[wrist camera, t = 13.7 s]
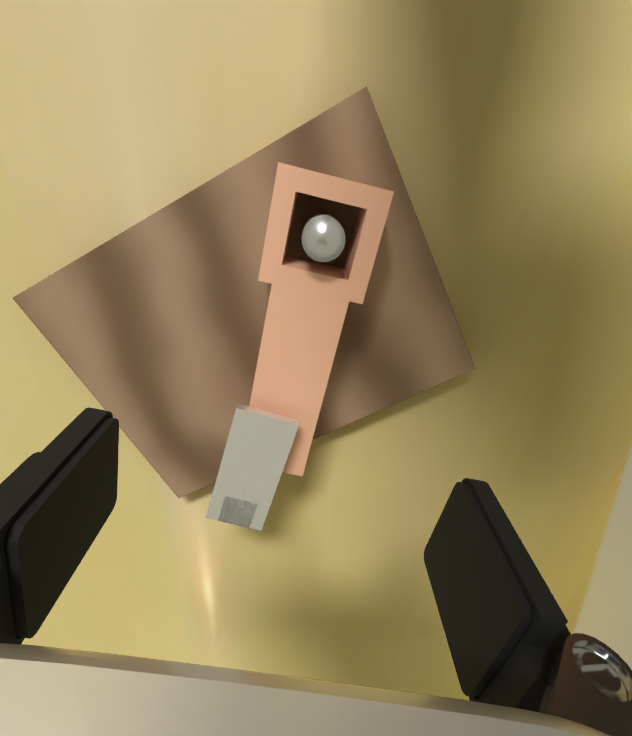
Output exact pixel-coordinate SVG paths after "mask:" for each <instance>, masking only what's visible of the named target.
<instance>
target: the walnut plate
mask: <svg viewBox="0 0 632 736" xmlns="http://www.w3.org/2000/svg"><path fill="white" fill-rule="evenodd" d="M278 162H280V163H284V164H288V165H292V166H295V167H299V168H303V169H307V170H311V171H315V172H319V173H323V174H327V175H331V176H335V177H339V178H343V179H346V180H350V181H354V182H358V183H362V184H366V185H370V186H374V187H378V188H382V189H386V190H390V191H394V194H393V197H392V201H391V204H390V208H389V212H388V215H387V219H386V222H385V226H384V229H383V233H382V236H381V240H380V244H379V247H378V251H377V254H376V258H375V261H374V265H373V269H372V272H371V276H370V279H369V283H368V286H367V290H366V293H365V297H364V301H363V304H359V303H355V302H350V301H349V304H348V308H347V312H346V315H345V319H344V323H343V327H342V330H341V334H340V338H339V342H338V345H337V349H336V353H335V357H334V360H333V364H332V368H331V372H330V375H329V379H328V383H327V387H326V390H325V394H324V398H323V402H322V405H321V409H320V413H319V417H318V420H317V424H316V428H315V432H314V435H313V439H315V438H317V437H320V436H322V435H324V434H327V433H329V432H331V431H333V430H336V429H338V428H340V427H343V426H345V425H347V424H349V423H352V422H354V421H356V420H359V419H361V418H363V417H365V416H368V415H370V414H372V413H375V412H377V411H379V410H381V409H384V408H386V407H388V406H391V405H393V404H395V403H397V402H400V401H402V400H404V399H407V398H409V397H411V396H413V395H416V394H418V393H420V392H423V391H425V390H427V389H429V388H432V387H434V386H436V385H439V384H441V383H443V382H445V381H448V380H450V379H452V378H455V377H457V376H459V375H461V374H464V373H466V372H468V371H471V370H473V369H475V367H474V364H473V362H472V359H471V357H470V354H469V351H468V349H467V346H466V344H465V341H464V338H463V336H462V333H461V331H460V328H459V325H458V323H457V320H456V318H455V315H454V312H453V310H452V307H451V305H450V302H449V299H448V297H447V294H446V292H445V289H444V286H443V284H442V281H441V279H440V276H439V273H438V271H437V268H436V266H435V263H434V261H433V258H432V255H431V253H430V250H429V248H428V245H427V242H426V240H425V237H424V235H423V232H422V229H421V227H420V224H419V222H418V219H417V216H416V214H415V211H414V209H413V206H412V203H411V201H410V198H409V196H408V193H407V190H406V188H405V185H404V183H403V180H402V177H401V175H400V172H399V170H398V167H397V164H396V162H395V159H394V157H393V154H392V151H391V149H390V146H389V144H388V141H387V138H386V136H385V133H384V131H383V128H382V125H381V123H380V120H379V118H378V115H377V113H376V110H375V107H374V105H373V102H372V100H371V97H370V94H369V92H368V89H367V87H365V88H364V89H362V90H360V91H359V92H357V93H355V94H354V95H352V96H350V97H349V98H347V99H345V100H344V101H342V102H340V103H339V104H337V105H335V106H334V107H332V108H330V109H328V110H327V111H325V112H323V113H322V114H320V115H318V116H317V117H315V118H313V119H312V120H310V121H308V122H307V123H305V124H303V125H302V126H300V127H298V128H297V129H295V130H293V131H292V132H290V133H288V134H287V135H285V136H283V137H282V138H280V139H278V140H276V141H275V142H273V143H271V144H270V145H268V146H266V147H265V148H263V149H261V150H260V151H258V152H256V153H255V154H253V155H251V156H250V157H248V158H246V159H245V160H243V161H241V162H240V163H238V164H236V165H235V166H233V167H231V168H230V169H228V170H226V171H225V172H223V173H221V174H219V175H218V176H216V177H214V178H213V179H211V180H209V181H208V182H206V183H204V184H203V185H201V186H199V187H198V188H196V189H194V190H193V191H191V192H189V193H188V194H186V195H184V196H183V197H181V198H179V199H178V200H176V201H174V202H173V203H171V204H169V205H168V206H166V207H164V208H162V209H161V210H159V211H157V212H156V213H154V214H152V215H151V216H149V217H147V218H146V219H144V220H142V221H141V222H139V223H137V224H136V225H134V226H132V227H131V228H129V229H127V230H126V231H124V232H122V233H121V234H119V235H117V236H116V237H114V238H112V239H111V240H109V241H107V242H105V243H104V244H102V245H100V246H99V247H97V248H95V249H94V250H92V251H90V252H89V253H87V254H85V255H84V256H82V257H80V258H79V259H77V260H75V261H74V262H72V263H70V264H69V265H67V266H65V267H64V268H62V269H60V270H59V271H57V272H55V273H54V274H52V275H50V276H48V277H47V278H45V279H43V280H42V281H40V282H38V283H37V284H35V285H33V286H32V287H30V288H28V289H27V290H25V291H23V292H22V293H20V294H18V295H17V296H15V297H13V299H14V300H15V302H16V303H17V304H18V305H19V306H20V308H21V309H22V310H23V311H24V312H25V314H26V315H27V316H28V317H29V318H30V320H31V321H32V322H33V323H34V325H35V326H36V327H37V328H38V329H39V331H40V332H41V333H42V334H43V335H44V337H45V338H46V339H47V340H48V341H49V343H50V344H51V345H52V346H53V347H54V349H55V350H56V351H57V352H58V353H59V355H60V356H61V357H62V358H63V359H64V361H65V362H66V363H67V364H68V366H69V367H70V368H71V369H72V370H73V372H74V373H75V374H76V375H77V376H78V378H79V379H80V380H81V381H82V382H83V384H84V385H85V386H86V387H87V388H88V390H89V391H90V392H91V393H92V394H93V396H94V397H95V398H96V399H97V401H98V402H99V403H100V404H101V405H102V407H103V408H104V409H105V410H106V411H110V412H111V413H112V414H113V418H117V419H118V420H119V427H120V428H121V429H122V431H123V432H124V433H125V434H126V435H127V437H128V438H129V439H130V440H131V442H132V443H133V444H134V445H135V446H136V448H137V449H138V450H139V451H140V452H141V454H142V455H143V456H144V457H145V458H146V460H147V461H148V462H149V463H150V464H151V466H152V467H153V468H154V469H155V470H156V472H157V473H158V474H159V475H160V477H161V478H162V479H163V480H164V481H165V483H166V484H167V485H168V486H169V487H170V489H171V490H172V491H173V492H174V493H175V495H176V496H177V497H178V498H180V497H183V496H185V495H187V494H189V493H192V492H194V491H196V490H199V489H201V488H203V487H205V486H208V485H210V484H212V483H215V482H216V479H217V475H218V472H219V468H220V465H221V461H222V457H223V454H224V450H225V447H226V443H227V439H228V436H229V432H230V429H231V425H232V421H233V418H234V414H235V410H236V407H237V404H242V405H246V406H249V405H250V399H251V394H252V388H253V383H254V378H255V372H256V367H257V361H258V356H259V350H260V345H261V340H262V334H263V329H264V323H265V318H266V313H267V307H268V302H269V296H270V291H271V286H272V284H271V283H266V282H262V281H258V278H259V272H260V266H261V260H262V254H263V248H264V243H265V237H266V231H267V225H268V219H269V213H270V207H271V202H272V196H273V190H274V184H275V178H276V172H277V166H278ZM358 210H359V207H356V206H352V205H348V204H344V203H340V202H336V201H332V200H328V199H324V198H320V197H316V196H312V195H308V194H304V193H300V192H298V196H297V201H296V206H295V211H294V216H293V221H292V227H291V232H290V237H289V242H288V247H287V252H286V255H287V256H292V257H296V258H300V259H305V260H309V261H313V262H318V263H322V264H326V265H330V266H335V267H339V268H343V269H344V265H345V261H346V257H347V253H348V249H349V245H350V241H351V237H352V234H353V230H354V226H355V222H356V218H357V214H358ZM317 212H326V213H329V214H331V215H332V216H333V217H334V218H335V219H336V220H337V221H338V222H339V223H340V224H341V226H342V227H343V229H344V232H345V246H344V249H343V251H342V252H341V254H340V255H339V256H338V257H337V258H335V259H334V260H331V261H328V262H319V261H315V260H313V259H312V258H310V257H309V256H308V255H307V254H306V252H305V251H304V249H303V246H302V233H303V229H304V225H305V223H306V221H307V219H308V218H309V217H310V216H311V215H313V214H314V213H317ZM313 439H312V440H313Z"/></svg>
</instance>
